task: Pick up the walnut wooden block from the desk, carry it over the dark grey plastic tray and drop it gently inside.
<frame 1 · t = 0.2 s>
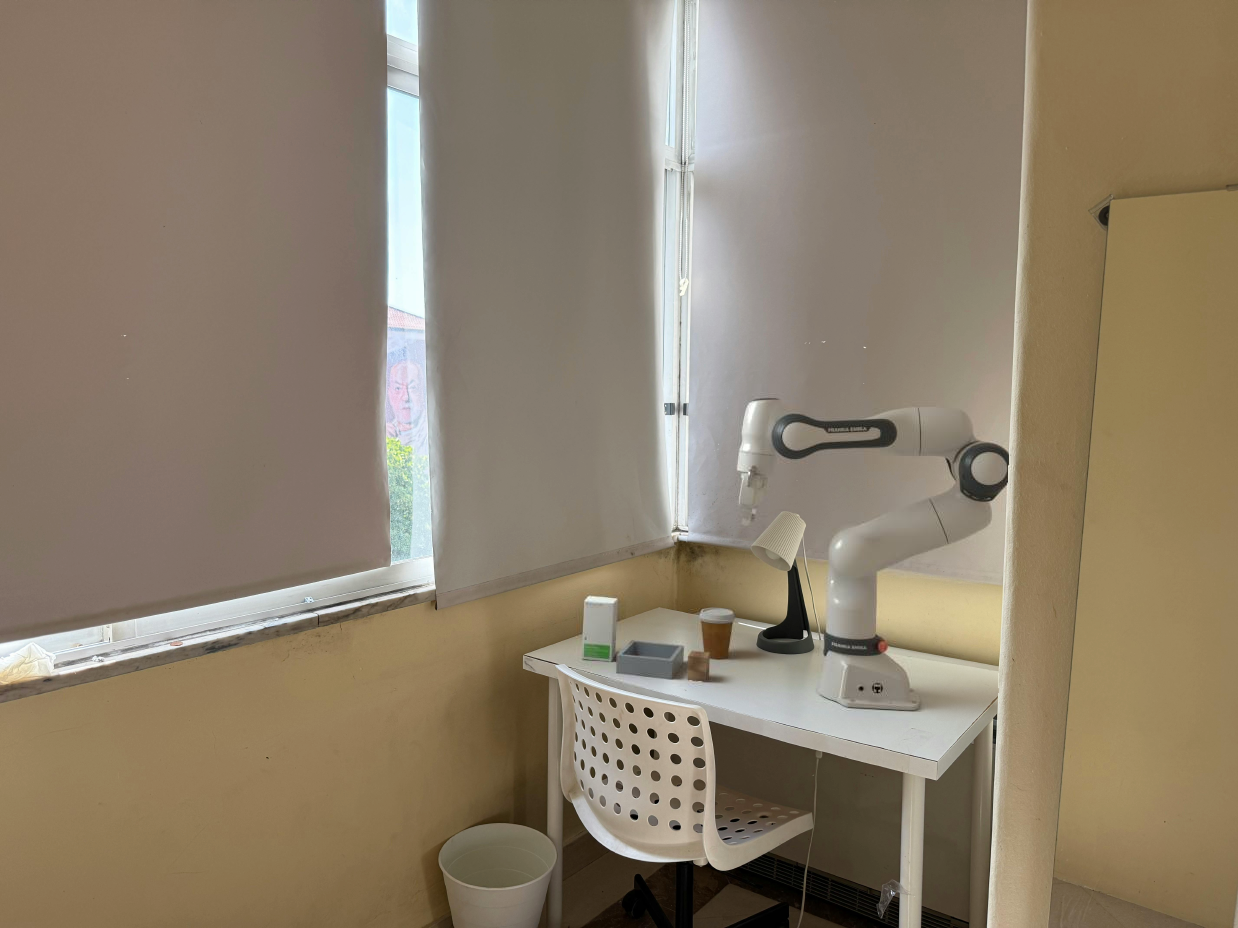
hand: (748, 522, 181), 38 cm above the table, tool pointing down, fingers open, 8 cm apart
walnut block: (698, 678, 185), on the table
tray: (650, 667, 192), on the table
skincare box: (599, 657, 200), on the table
disposable coffee cup: (715, 656, 203), on the table
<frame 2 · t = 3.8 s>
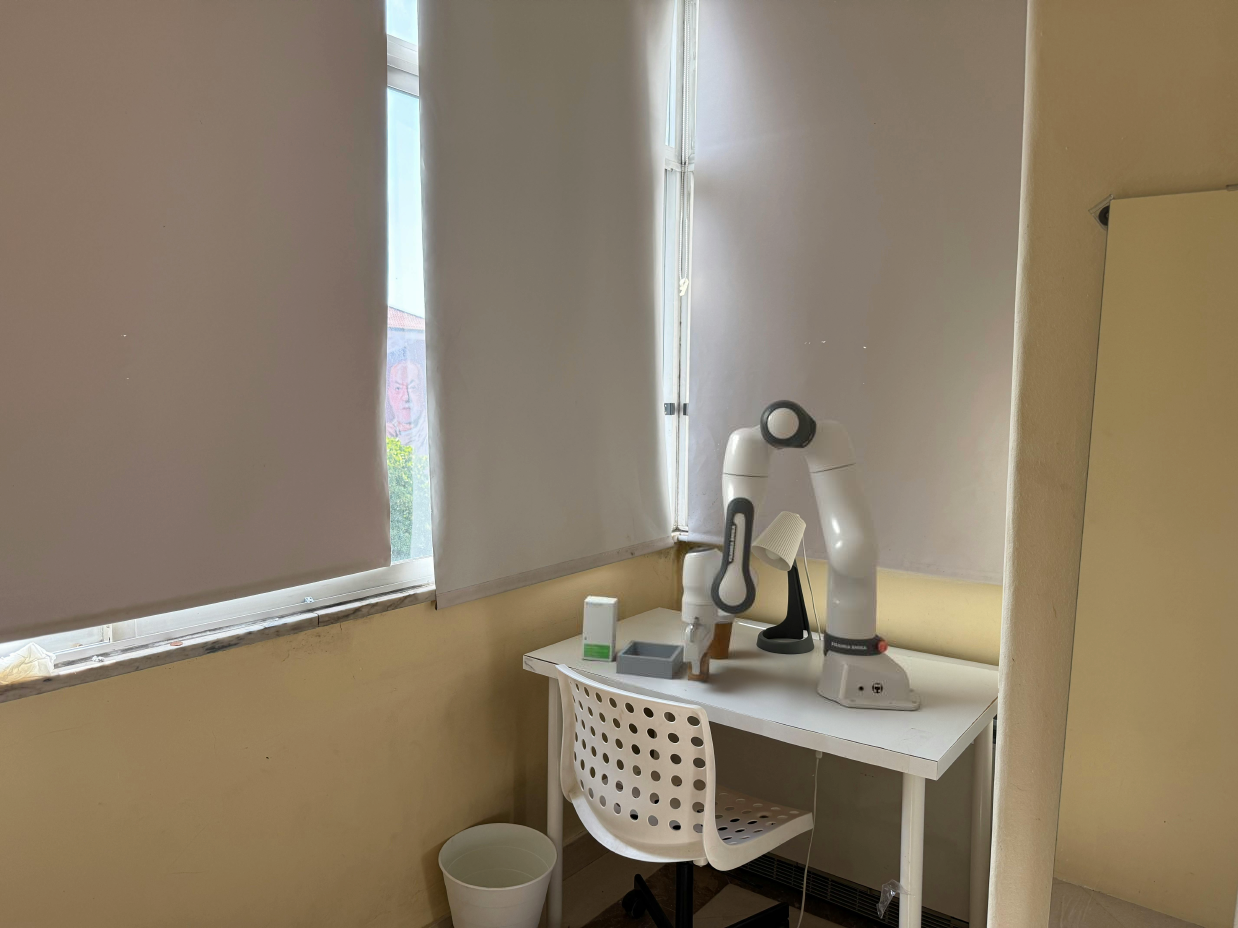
hand: (698, 669, 185), 2 cm above the table, tool pointing down, fingers closed on walnut block, 4 cm apart
walnut block: (698, 678, 185), on the table, touching gripper
everything else where it was.
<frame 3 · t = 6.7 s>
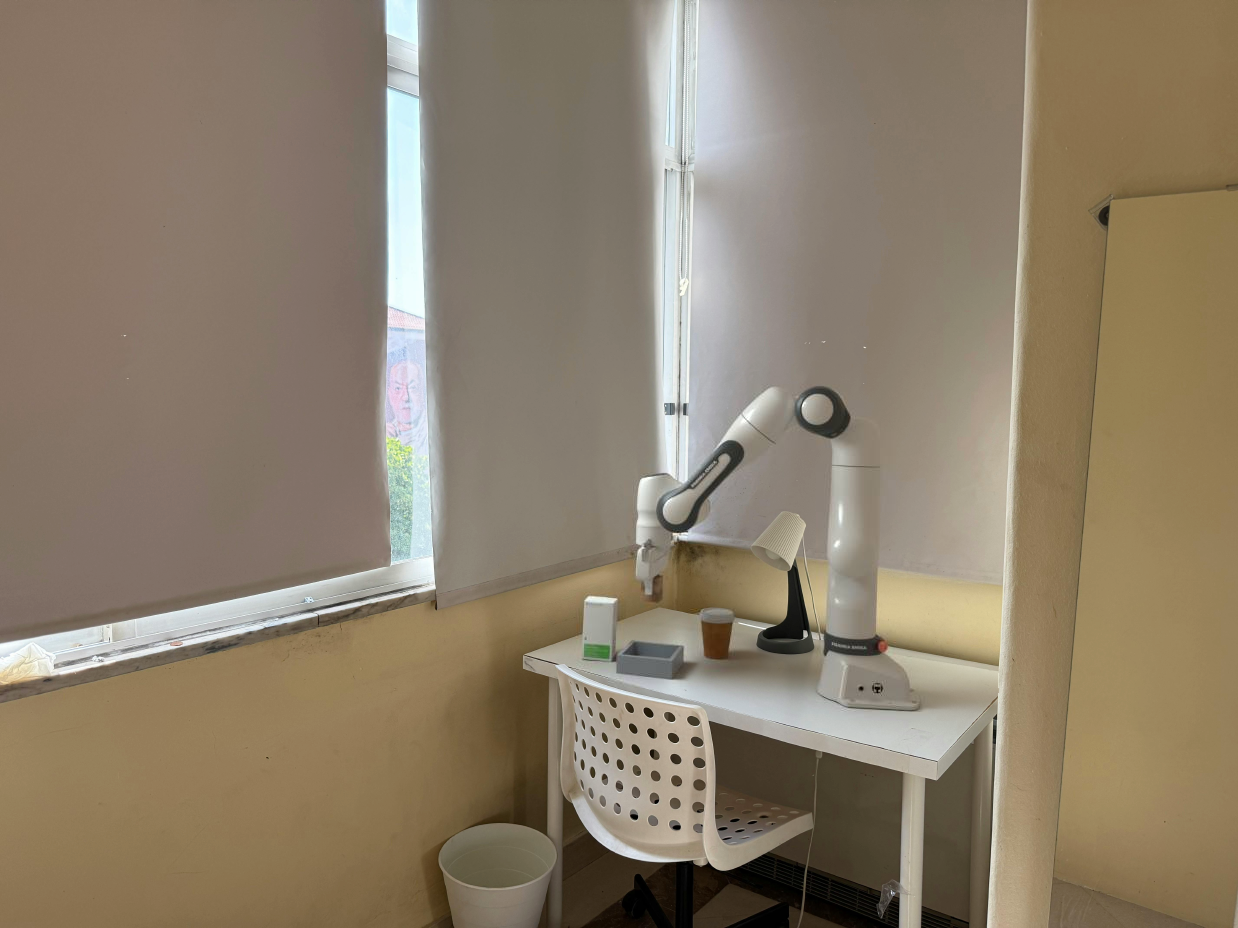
hand: (652, 591, 191), 19 cm above the table, tool pointing down, fingers closed on walnut block, 4 cm apart
walnut block: (651, 599, 191), point 17 cm above the table, touching gripper
everything else where it was.
when the fingers open (5 cm above the table, at t = 9.7 s): walnut block drops 2 cm, resting on tray.
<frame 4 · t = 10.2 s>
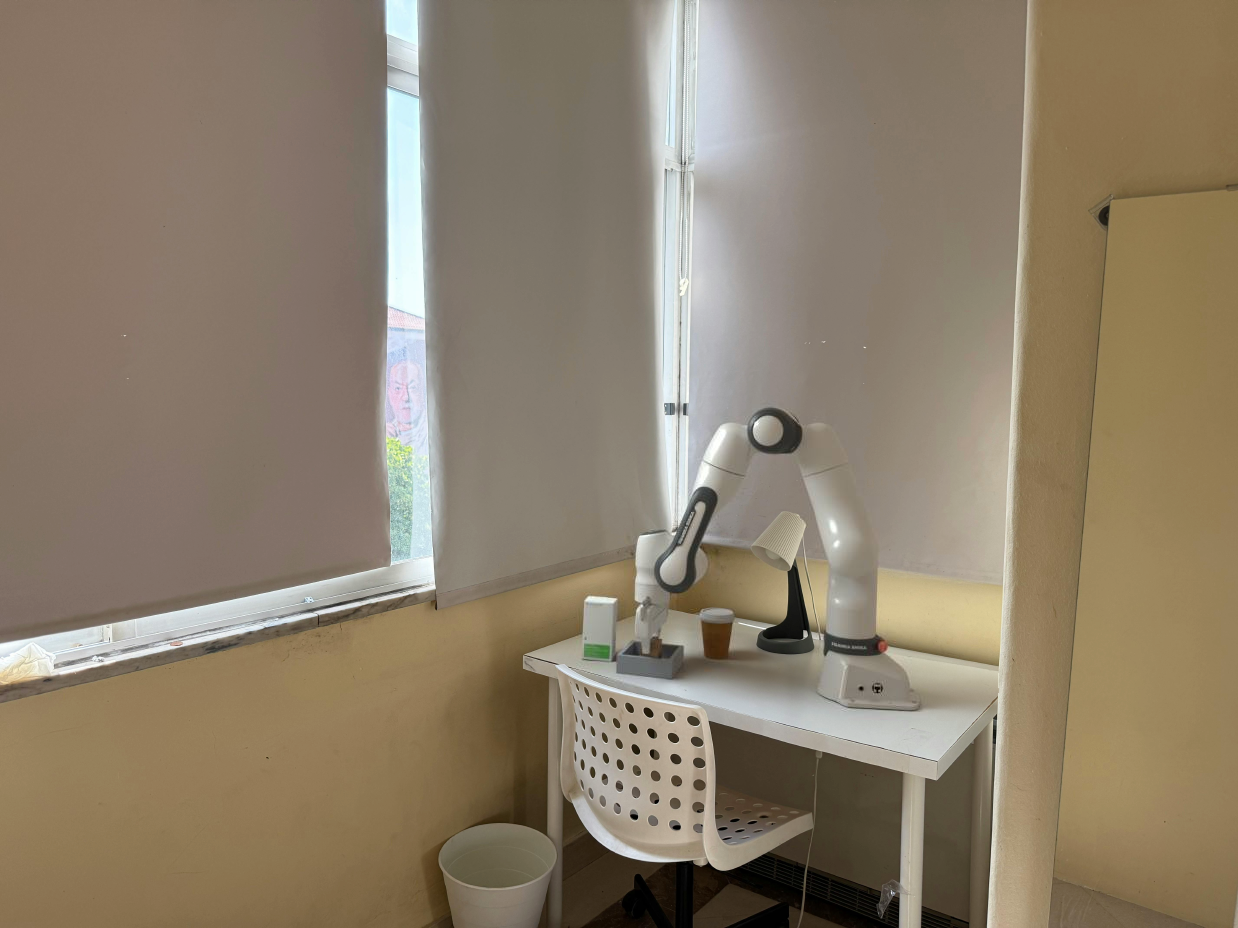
hand: (651, 647, 192), 5 cm above the table, tool pointing down, fingers open, 8 cm apart
walnut block: (650, 663, 192), point 1 cm above the table, touching tray
everything else where it was.
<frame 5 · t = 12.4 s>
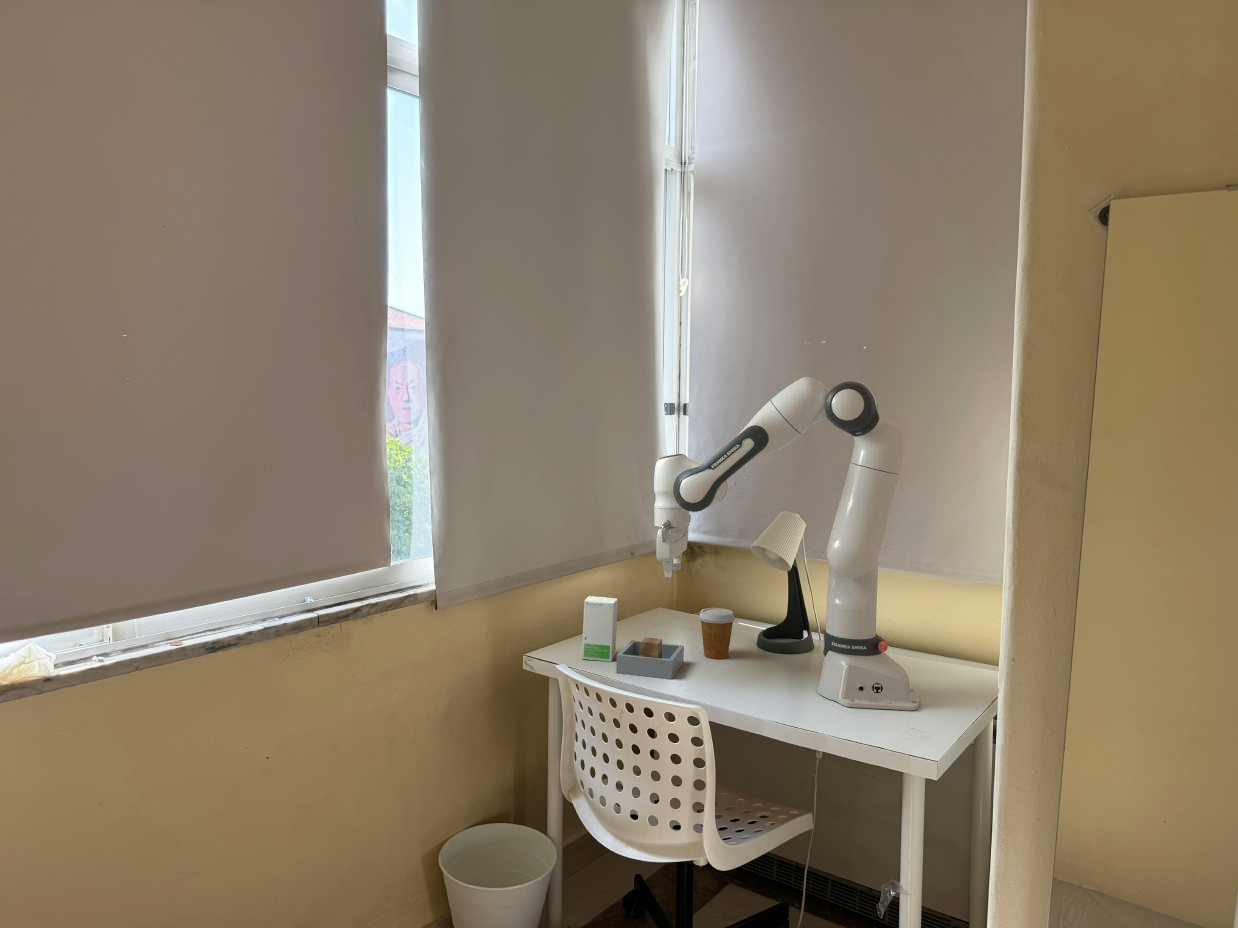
hand: (672, 573, 191), 24 cm above the table, tool pointing down, fingers open, 8 cm apart
nothing on the table moved.
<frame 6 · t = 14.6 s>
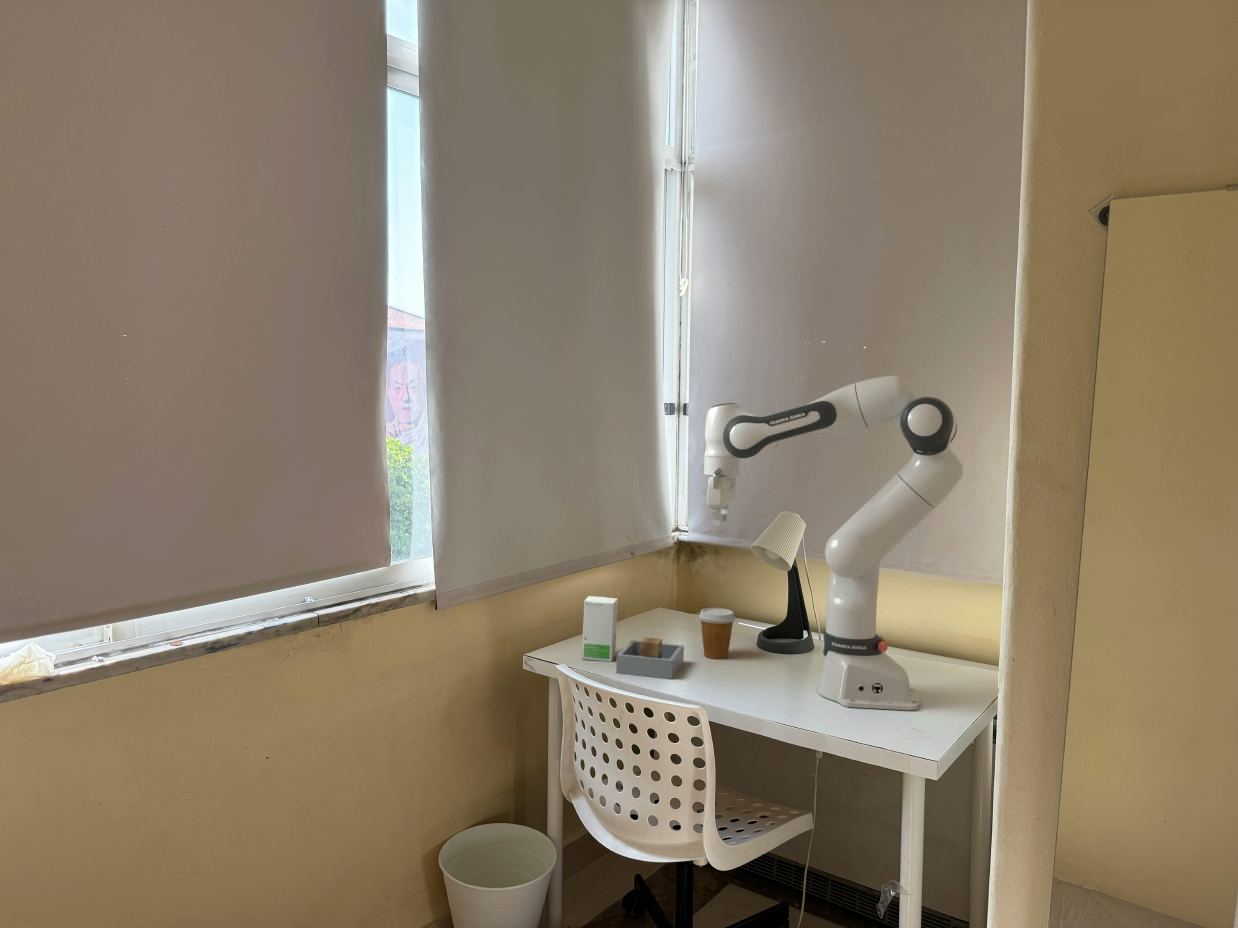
hand: (720, 523, 191), 37 cm above the table, tool pointing down, fingers open, 8 cm apart
nothing on the table moved.
at the end: walnut block inside the target area on the tray (0.0 cm from its centre), point 1.0 cm above the tray's base; the gripper is holding nothing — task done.
